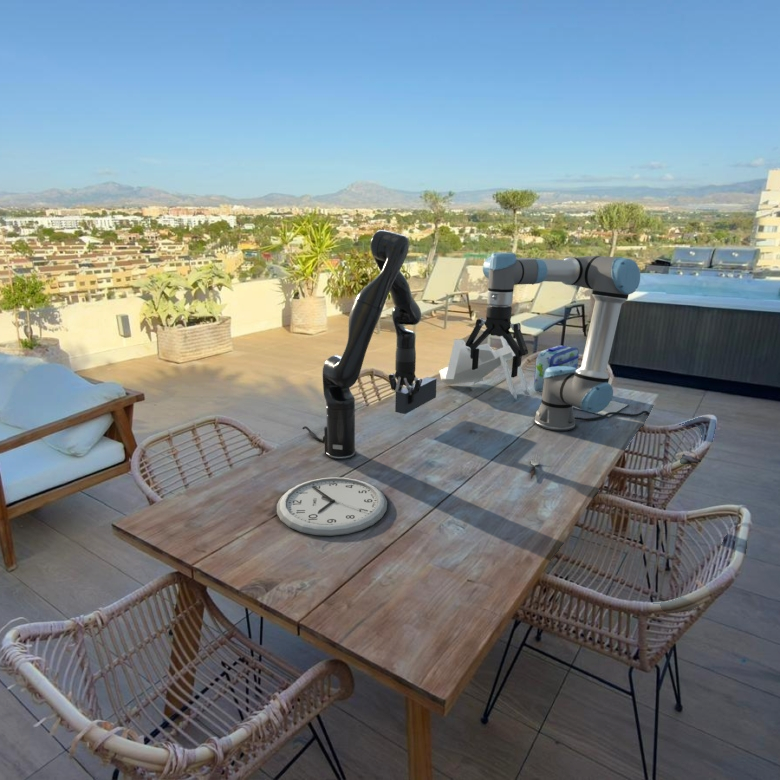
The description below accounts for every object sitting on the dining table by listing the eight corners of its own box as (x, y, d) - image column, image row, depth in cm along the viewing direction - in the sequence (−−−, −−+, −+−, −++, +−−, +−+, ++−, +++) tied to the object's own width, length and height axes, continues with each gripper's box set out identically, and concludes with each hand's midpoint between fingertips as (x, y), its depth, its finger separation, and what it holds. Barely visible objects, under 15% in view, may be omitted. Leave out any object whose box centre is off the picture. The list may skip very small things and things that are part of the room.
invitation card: (608, 416, 214) (573, 407, 224) (608, 416, 214) (573, 408, 224) (628, 404, 229) (594, 396, 238) (628, 405, 229) (594, 397, 238)
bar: (426, 395, 219) (427, 376, 216) (435, 397, 217) (436, 378, 214) (395, 412, 199) (395, 391, 197) (405, 414, 197) (405, 393, 195)
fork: (526, 479, 159) (527, 473, 159) (531, 458, 173) (532, 453, 173) (535, 480, 158) (536, 474, 158) (539, 460, 173) (540, 454, 172)
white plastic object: (461, 429, 252) (437, 405, 227) (444, 352, 274) (420, 323, 250) (535, 404, 240) (518, 377, 215) (510, 326, 262) (492, 293, 237)
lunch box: (550, 398, 235) (555, 353, 229) (529, 393, 243) (534, 349, 236) (577, 387, 253) (583, 345, 247) (557, 382, 260) (562, 341, 254)
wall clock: (392, 527, 129) (268, 531, 127) (391, 533, 130) (269, 537, 127) (383, 473, 158) (282, 475, 155) (383, 478, 158) (282, 480, 156)
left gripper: (384, 358, 195) (383, 401, 200) (417, 363, 188) (415, 408, 193) (394, 354, 201) (394, 396, 206) (427, 359, 194) (425, 403, 199)
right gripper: (457, 302, 163) (453, 368, 169) (533, 310, 149) (526, 382, 155) (469, 300, 169) (465, 363, 175) (543, 308, 155) (536, 377, 161)
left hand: (404, 402), depth 200 cm, fingers closed on bar, 4 cm apart
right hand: (494, 372), depth 165 cm, fingers open, 13 cm apart
